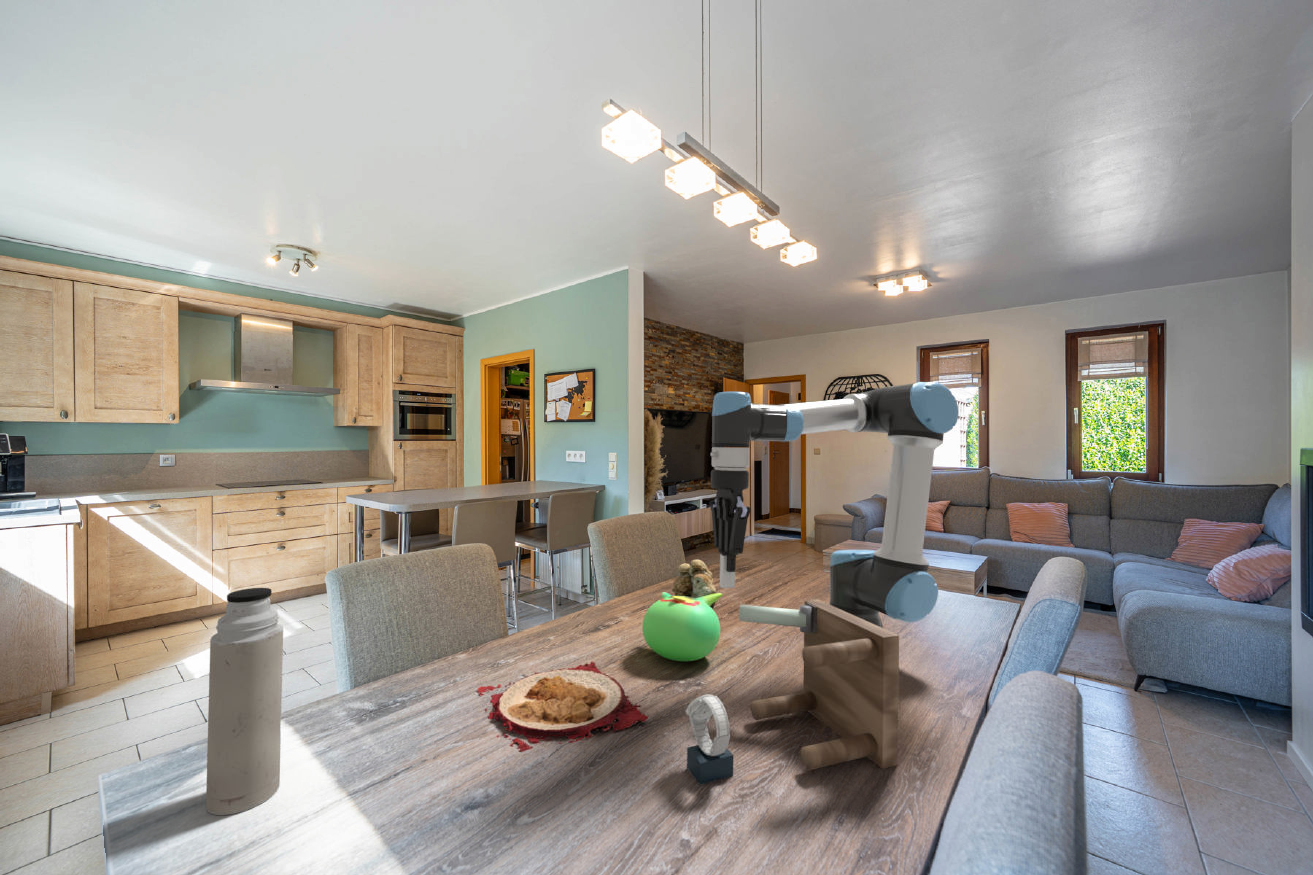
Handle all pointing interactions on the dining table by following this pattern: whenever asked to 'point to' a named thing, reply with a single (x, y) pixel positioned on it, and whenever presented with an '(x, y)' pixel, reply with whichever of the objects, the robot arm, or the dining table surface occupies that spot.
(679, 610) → the toy bird
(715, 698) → the watch
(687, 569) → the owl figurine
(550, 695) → the plate with food
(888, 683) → the stool
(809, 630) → the hinged leg
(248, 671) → the thermos bottle
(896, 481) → the robot arm
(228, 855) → the dining table surface
